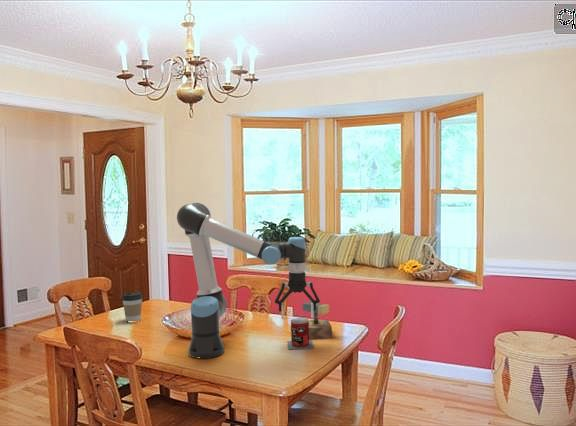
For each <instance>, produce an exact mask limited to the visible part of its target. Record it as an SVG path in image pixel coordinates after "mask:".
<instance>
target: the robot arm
mask: <svg viewBox="0 0 576 426" xmlns="http://www.w3.org/2000/svg"><path fill="white" fill-rule="evenodd" d="M176 220H177V224H178V226H180V228H181V229H183V230H184V233H185V236H186V237H188V238H189V244H190V247H191V254H192V258H193V259H192V260H193V263H194V269H195V275H196V279H197V285H198V291H197V292H196V297H195V298H194V299H193V300H192V301H191V303H190V319H191V320H190V321H191V338H190V343H189V346H188V355H189V354H190V355H191V356H194V357H200V358H206V359H211V358H210V357H213V358H216V357H215V356H217V357H219V356H222V355H223V354H224V352H225V345H224V343H223V340H222V338H221V334H220V319H221V318H222V316H223V315H224V314H225V312H226V310H227V305H228V304H227V300H226V298H225V296H224V295H223V288H221V287H220V286H219V284H218V280H217V279H218V278H217V276H216V275H217V274H216V269H215V264H214V262H215V261H214V259H213V252H212V247H211V241H210V239H214V240H215V241H218V242H220V243H222V244H224V245H227V246H230V247H232V248H234V249H236V250H238V251H241V252H243V253H245V254H247V255H251V256H253V257H255V258H258V259H259V260H262V261H263V262H264V263H265V264H266V265H274V264H277V263H278V262H279V261H280V260H282V259H286V260H287V259H288V271H289V272H288V282H284V281H282V282H281V287H280V289H279V291H278V293H277V295H276V297H275V299H274V304H277V305H278V311H279V313H280V312H281V313H280V314H281V315H280V316H281V320H284V302H285V301H286V299H287V298H288V297H289V296H290V294H292V293H294V294H296V293H303V294H305V296H306V297H307V298H308V300H309V301H310V302H313V303H311V312H310V315H311V316H310V317H311V320H314V313H313V311H316V303H320V302H321V300H320V298H319V296H318V295H317V293H316V291H315V289H314V285H313V282H312V281H309V282H306V281H307V280H306V272H305V271H306V240H305V238H304V237H301V236H292V237H289V238H288V240H287V241H265V240H263V239H260V238H257V237H255V236H253V235H251V234H248V233H246V232H243V231H241V230H239V229H236V228H234V227H232V226H229V225H227V224H225V223H222V222H220V221H218V220H215V219H213V218H212V217H211V211H210V210H209V208H208V206H207V205H205V204H204V203H200V202H193V203H188V204H184V205H183V206H181V207H180V208H179V209H178V212H177V213H176ZM307 286H308V288H309V289H310V291H311V292H312V294H313V296H314V298H315V299H314V298H313V296H312V295H311V294H310V293H309V292H308V290H307V289H306V287H307ZM287 287H288V288H289V289H288V290H287V291H286V292H285V294H284V295H283V296H282V294H283V293H284V290H285V289H286V288H287ZM281 296H282V297H281ZM280 298H281V299H280ZM222 353H223V354H222ZM218 355H219V356H218ZM191 356H190V357H191Z"/></svg>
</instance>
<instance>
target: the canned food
mask: <svg viewBox="0 0 576 426" xmlns="http://www.w3.org/2000/svg"><path fill="white" fill-rule="evenodd" d="M308 320H309V318H307V317H295V318H294V317H293V318H291V320H290V337H291V338H290V341H291V343H292V345H293V346H295V347H304V346H307V345H308V344H309V340H310V339H309V321H308Z"/></svg>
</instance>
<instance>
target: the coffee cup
mask: <svg viewBox="0 0 576 426" xmlns="http://www.w3.org/2000/svg"><path fill="white" fill-rule="evenodd" d="M143 296H144V295H143V294H142V293H141V292H140V291H131V292H125V293H123V295H122V296H121V301H122V305H123V310H124V311H123V312H124V315H125V320H126V322H127V321H138V320H140V321H141V318H142V307H143V306H142V305H143V304H142V303H143V299H144V297H143Z"/></svg>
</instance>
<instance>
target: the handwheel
mask: <svg viewBox="0 0 576 426" xmlns="http://www.w3.org/2000/svg"><path fill="white" fill-rule="evenodd" d="M311 303H313V302H312V301H311V300H309V301H307V302H303V303H302V311H303V312H308V313H311ZM328 313H330V304H327V303H326V304H325V303H320V302H319V303H316V311H313V316H314V319H313V320H314V323H318V320H319V315H320V316H321V315H325V314H328Z"/></svg>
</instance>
